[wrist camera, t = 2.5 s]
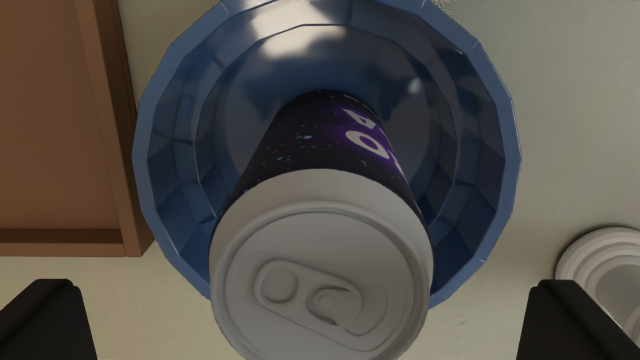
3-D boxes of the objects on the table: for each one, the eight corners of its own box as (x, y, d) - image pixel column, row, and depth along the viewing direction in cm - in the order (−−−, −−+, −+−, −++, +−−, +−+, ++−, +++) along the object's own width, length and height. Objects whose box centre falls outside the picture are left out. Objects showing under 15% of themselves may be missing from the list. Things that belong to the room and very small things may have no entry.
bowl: (492, -17, 18) (555, -29, 13) (455, 267, 23) (490, 339, 18) (162, -14, 18) (97, -24, 13) (199, 265, 24) (163, 335, 18)
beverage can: (357, 213, 22) (384, 423, 11) (253, 176, 21) (165, 357, 10) (404, 112, 20) (497, 239, 9) (290, 68, 19) (232, 143, 8)
